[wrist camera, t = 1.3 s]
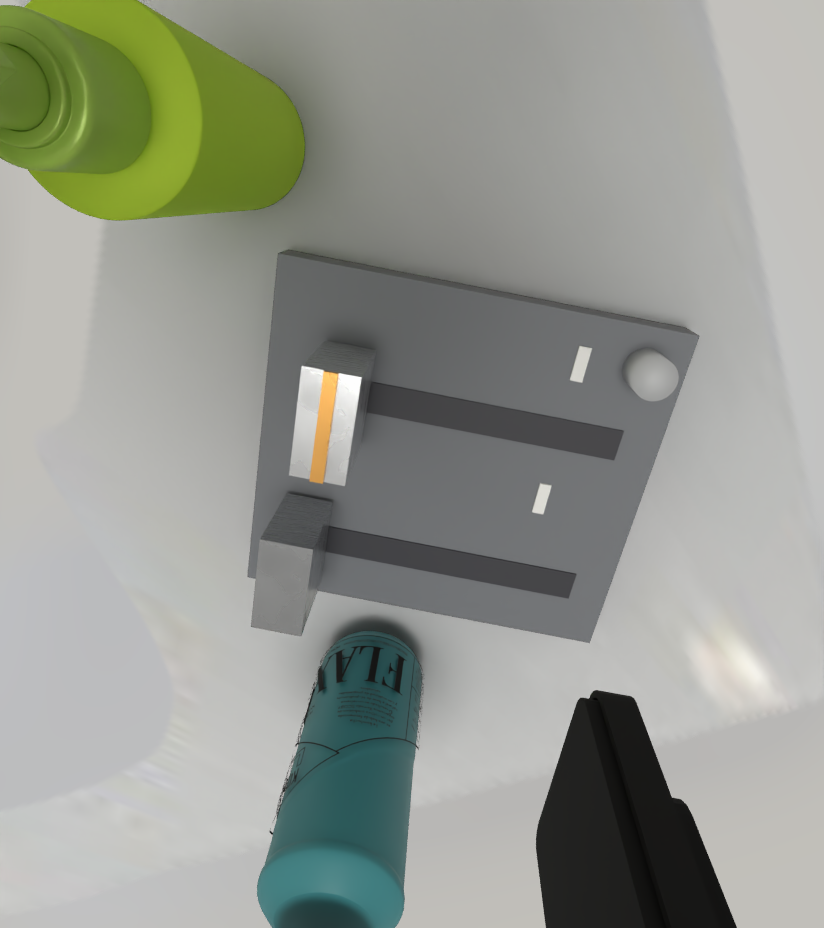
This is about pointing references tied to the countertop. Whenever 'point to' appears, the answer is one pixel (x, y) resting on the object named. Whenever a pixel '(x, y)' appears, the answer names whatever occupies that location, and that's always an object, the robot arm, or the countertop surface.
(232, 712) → the countertop surface
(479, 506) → the console
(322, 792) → the beverage bottle
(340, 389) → the fader tab
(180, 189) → the soap dispenser
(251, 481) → the countertop surface
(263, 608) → the fader tab
